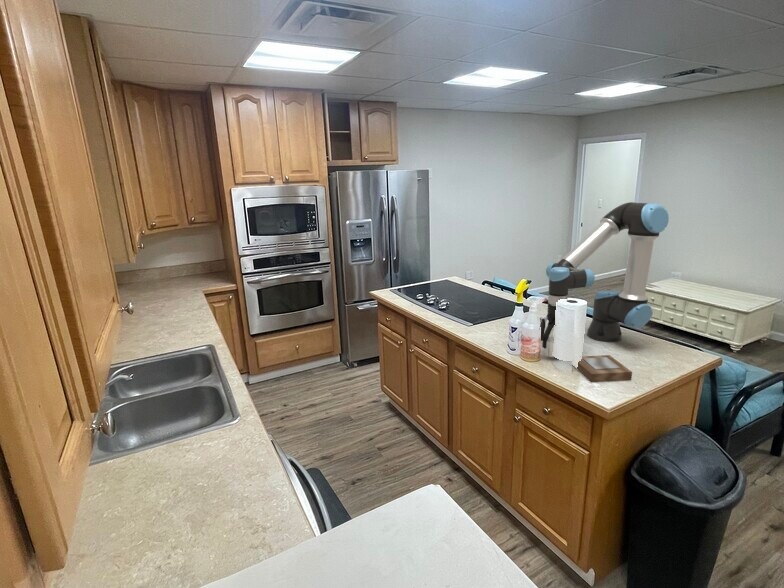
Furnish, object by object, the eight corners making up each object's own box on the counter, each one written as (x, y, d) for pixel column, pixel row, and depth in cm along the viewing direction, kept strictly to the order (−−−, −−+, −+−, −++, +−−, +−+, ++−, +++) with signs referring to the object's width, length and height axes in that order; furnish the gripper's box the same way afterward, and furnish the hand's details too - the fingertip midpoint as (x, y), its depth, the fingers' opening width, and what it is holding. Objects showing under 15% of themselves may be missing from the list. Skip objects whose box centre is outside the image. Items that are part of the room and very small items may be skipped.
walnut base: (608, 362, 178) (609, 353, 177) (631, 380, 163) (632, 370, 162) (571, 364, 177) (572, 355, 176) (590, 382, 162) (591, 372, 161)
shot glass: (549, 350, 188) (550, 335, 186) (564, 353, 184) (565, 338, 182) (543, 355, 183) (544, 340, 181) (559, 359, 179) (560, 344, 177)
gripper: (537, 308, 173) (535, 359, 180) (584, 305, 174) (580, 356, 180) (531, 302, 180) (528, 352, 187) (576, 299, 181) (572, 349, 187)
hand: (554, 354), depth 184 cm, fingers closed on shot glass, 7 cm apart
